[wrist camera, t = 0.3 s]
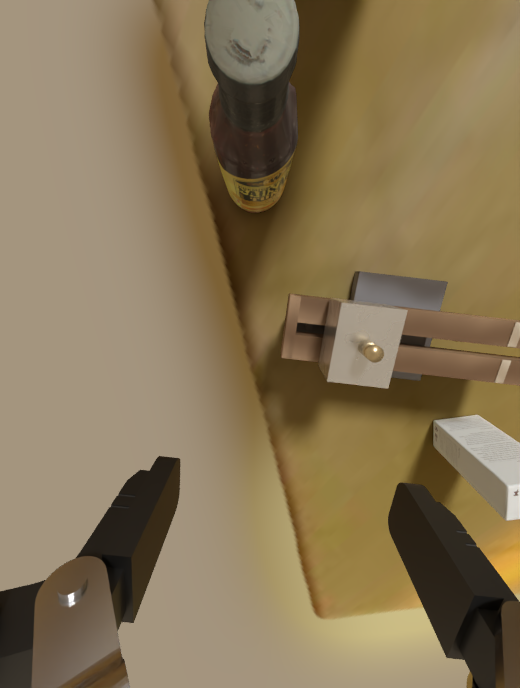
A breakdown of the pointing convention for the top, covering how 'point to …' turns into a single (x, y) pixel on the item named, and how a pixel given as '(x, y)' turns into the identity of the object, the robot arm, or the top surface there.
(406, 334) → the balance beam
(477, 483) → the skincare box
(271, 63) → the sauce bottle
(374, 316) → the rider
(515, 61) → the top surface
